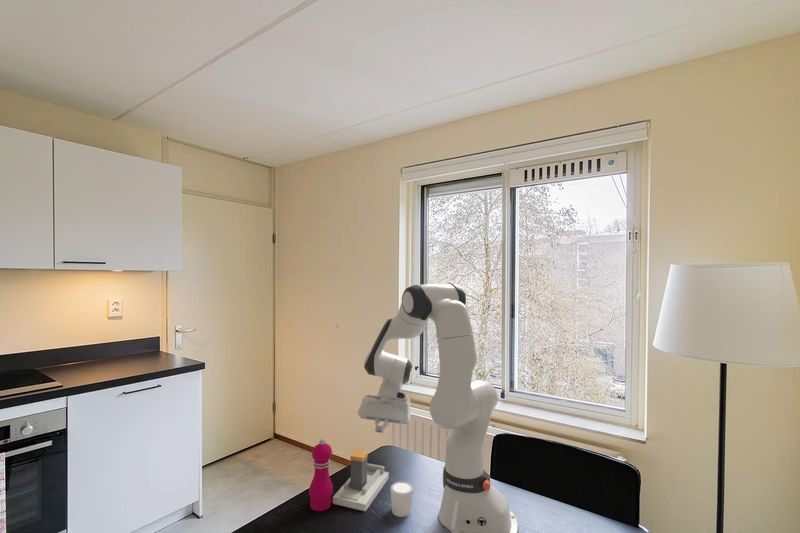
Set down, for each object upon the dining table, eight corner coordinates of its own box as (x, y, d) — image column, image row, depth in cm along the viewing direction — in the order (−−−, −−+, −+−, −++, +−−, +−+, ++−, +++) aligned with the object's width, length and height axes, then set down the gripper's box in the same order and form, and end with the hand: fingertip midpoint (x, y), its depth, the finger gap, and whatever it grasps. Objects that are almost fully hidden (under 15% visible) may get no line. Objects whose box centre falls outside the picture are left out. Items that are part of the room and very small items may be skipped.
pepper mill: (319, 515, 112) (321, 446, 112) (303, 506, 116) (305, 439, 116) (337, 504, 117) (339, 438, 118) (321, 495, 122) (323, 432, 122)
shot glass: (413, 518, 111) (413, 494, 111) (389, 517, 111) (390, 493, 111) (412, 504, 118) (413, 481, 118) (390, 503, 118) (390, 481, 118)
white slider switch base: (388, 478, 133) (388, 466, 133) (365, 511, 114) (365, 497, 114) (359, 472, 137) (360, 461, 137) (332, 503, 118) (332, 490, 118)
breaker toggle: (367, 483, 125) (367, 452, 125) (361, 490, 121) (362, 458, 121) (355, 481, 126) (356, 450, 126) (349, 487, 122) (350, 455, 123)
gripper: (362, 390, 151) (350, 424, 141) (411, 395, 144) (403, 431, 135) (366, 398, 155) (355, 432, 145) (414, 404, 148) (407, 439, 139)
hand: (379, 431), depth 140 cm, fingers closed
